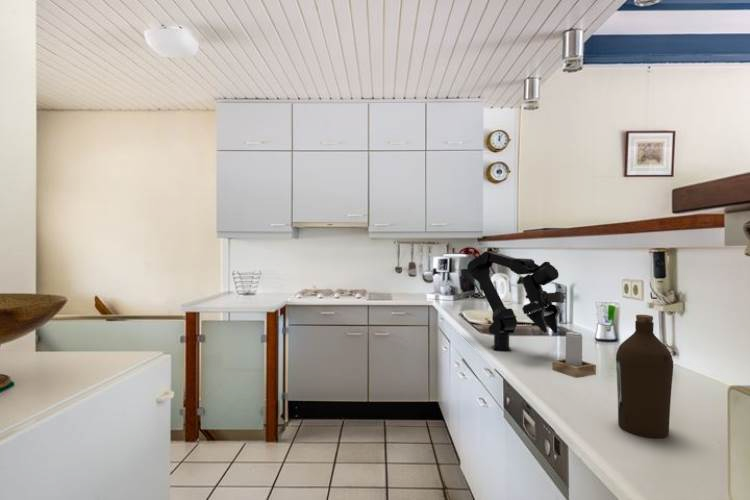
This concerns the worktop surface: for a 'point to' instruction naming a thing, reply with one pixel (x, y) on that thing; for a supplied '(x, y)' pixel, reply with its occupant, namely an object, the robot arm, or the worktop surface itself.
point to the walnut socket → (574, 368)
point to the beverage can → (573, 349)
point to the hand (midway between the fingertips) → (551, 332)
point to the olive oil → (644, 382)
